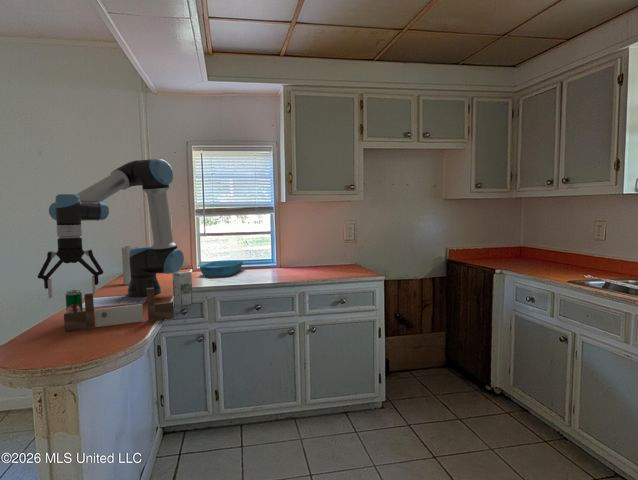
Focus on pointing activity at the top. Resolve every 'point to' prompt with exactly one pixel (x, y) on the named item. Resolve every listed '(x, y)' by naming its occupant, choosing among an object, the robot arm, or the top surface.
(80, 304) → the soda can
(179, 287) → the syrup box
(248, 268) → the top surface
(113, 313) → the gate
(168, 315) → the partition
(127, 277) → the pale grey tall block
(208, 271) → the casserole dish
